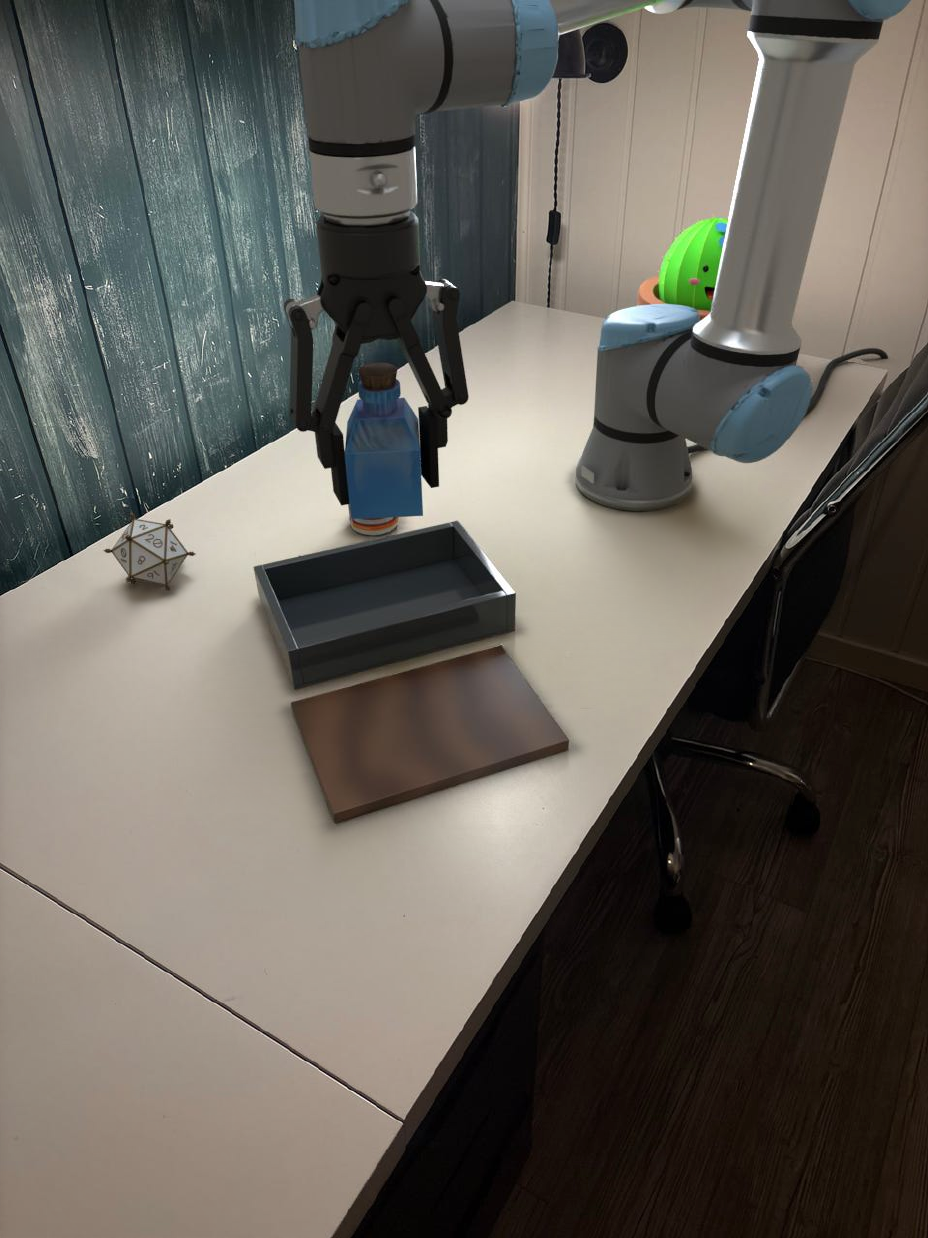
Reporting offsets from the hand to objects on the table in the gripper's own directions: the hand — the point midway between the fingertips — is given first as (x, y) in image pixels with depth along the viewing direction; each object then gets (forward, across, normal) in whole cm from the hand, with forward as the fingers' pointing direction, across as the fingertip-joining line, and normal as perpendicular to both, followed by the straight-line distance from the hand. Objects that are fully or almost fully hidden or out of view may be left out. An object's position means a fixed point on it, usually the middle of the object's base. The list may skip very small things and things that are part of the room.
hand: (386, 488), depth 81 cm
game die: (+21, -21, +25) cm, 39 cm away
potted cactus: (+20, +69, +53) cm, 90 cm away
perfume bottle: (+1, 0, 0) cm, 1 cm away
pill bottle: (+21, +6, +28) cm, 35 cm away
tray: (+20, +1, +9) cm, 22 cm away
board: (+20, 0, -10) cm, 23 cm away
